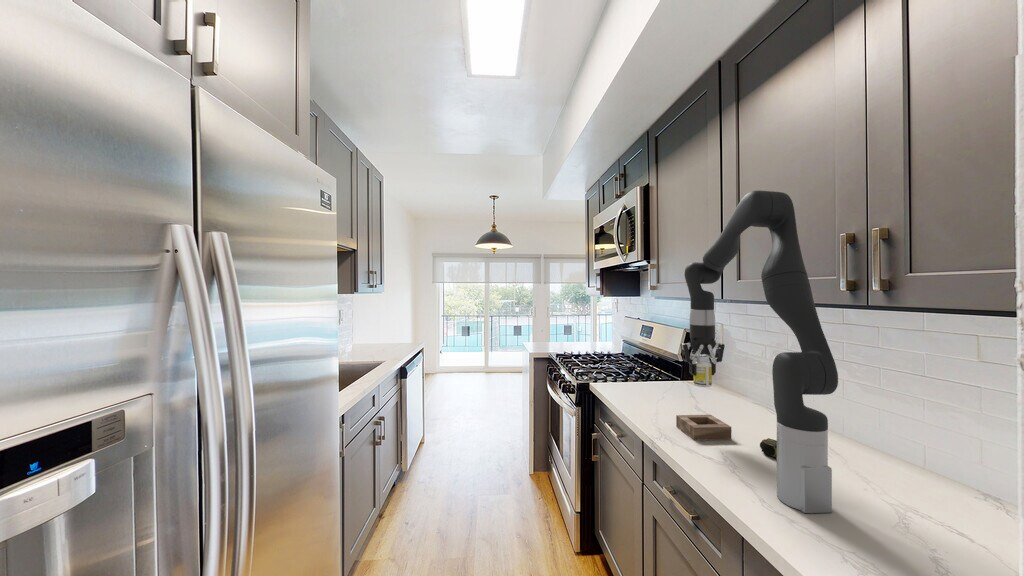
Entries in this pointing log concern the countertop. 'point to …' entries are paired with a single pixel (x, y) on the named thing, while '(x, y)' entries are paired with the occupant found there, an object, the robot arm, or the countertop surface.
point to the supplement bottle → (703, 372)
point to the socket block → (703, 427)
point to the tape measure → (769, 447)
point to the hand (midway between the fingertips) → (702, 374)
